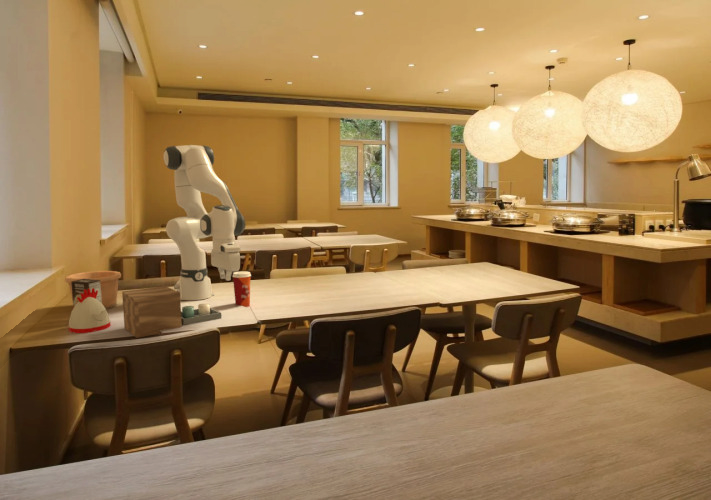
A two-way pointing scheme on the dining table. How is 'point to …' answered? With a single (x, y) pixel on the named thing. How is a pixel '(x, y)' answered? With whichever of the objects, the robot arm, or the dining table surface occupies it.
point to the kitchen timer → (88, 314)
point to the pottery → (107, 284)
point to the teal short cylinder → (188, 311)
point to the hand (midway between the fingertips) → (225, 279)
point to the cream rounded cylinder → (204, 309)
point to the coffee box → (86, 284)
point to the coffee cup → (242, 288)
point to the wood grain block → (151, 310)
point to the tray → (201, 317)
